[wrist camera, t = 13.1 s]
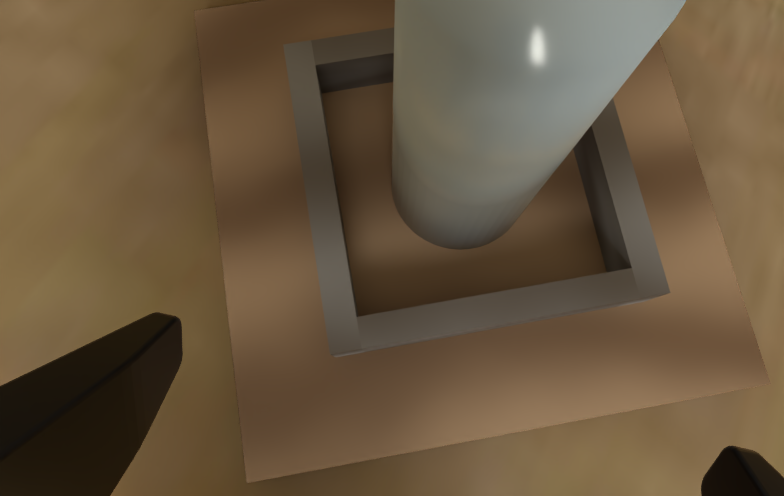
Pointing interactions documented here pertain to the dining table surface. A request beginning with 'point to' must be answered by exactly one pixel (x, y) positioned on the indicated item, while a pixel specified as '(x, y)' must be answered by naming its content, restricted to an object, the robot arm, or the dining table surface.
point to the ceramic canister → (501, 101)
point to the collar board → (445, 259)
